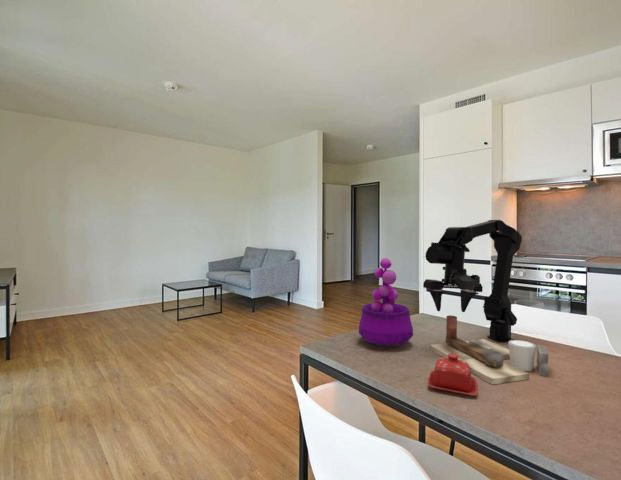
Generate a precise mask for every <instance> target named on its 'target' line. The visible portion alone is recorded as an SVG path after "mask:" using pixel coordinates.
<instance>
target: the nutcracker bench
mask: <svg viewBox="0 0 621 480" xmlns="http://www.w3.org/2000/svg"><path fill="white" fill-rule="evenodd" d="M473 340H474V341H476V342H478V343H481V344H483V345H485V346H488V347H490V348H492V351H496V352H500V353H501V354H502V358H503V359H504V360H510V355H509V348H507V347H504V346H502V345H501V344H497V343H495V342H492V341H490V340H488V339H486V338H485V339H484V338H481V339H473ZM464 341H465V342H467V343H469V340H464ZM428 349H429V350H430V351H432V352H433V353H436V354H437V355H438V356H440V357H441V358H449V357H448V354H450V353H454V354H457V355H458V356H459V358H458V359H459V360H462V361H464V362H466V363H468V364H469V366H470V371H471V375H474V376H475V377H477V378H479V379H481V380H483V381H485V382H487V384H490V385H491V386H493V385H499V384H506V383H513V382H518V381H519V382H520V381H525V380H530V373H529V372H528V371H522V370H520V369H518V368H516V367H514V366H512V365H510V363H507V362H505V361H503V366H501V367H492V366H489V365H487V364H485V362H483V361H481V360H479V359H477V358H475V357H473V356H471V355H469V354H467V353H465V352H463V351H461V350H459V349H457V348H455V347H453V346H451V345H449V344H447V343H446V342H443V343H435V344H429V348H428ZM536 367H537V372H538V376H544V377H548V376H549V352H548V350H547V346H546V345H542V344H541V345H540V344H536Z"/></svg>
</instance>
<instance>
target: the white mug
mask: <svg viewBox="0 0 621 480" xmlns="http://www.w3.org/2000/svg"><path fill="white" fill-rule="evenodd" d="M508 349H509V355H510V359H509V365H512V366H514V367H516V368H518V369H520V370H522V371H524V372H531V371H533V370H534V362H535V354H536V349H537V344H535V343H533V342H530V341H527V340H521V339H515V340H510V341H508Z"/></svg>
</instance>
